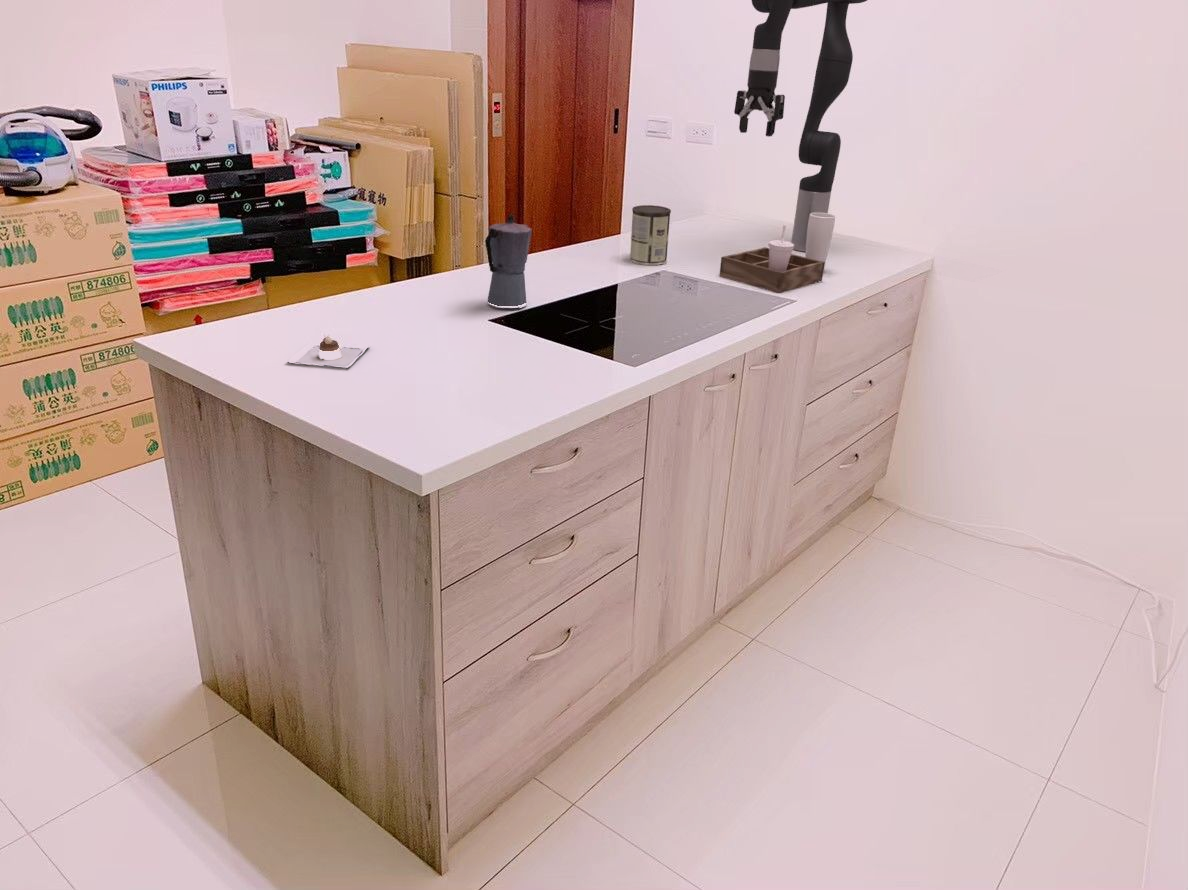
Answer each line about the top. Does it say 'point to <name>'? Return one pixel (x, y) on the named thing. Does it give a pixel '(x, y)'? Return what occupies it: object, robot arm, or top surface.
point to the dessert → (328, 344)
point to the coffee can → (649, 234)
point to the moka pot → (507, 262)
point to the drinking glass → (819, 235)
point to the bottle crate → (771, 270)
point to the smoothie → (780, 253)
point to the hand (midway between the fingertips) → (755, 134)
